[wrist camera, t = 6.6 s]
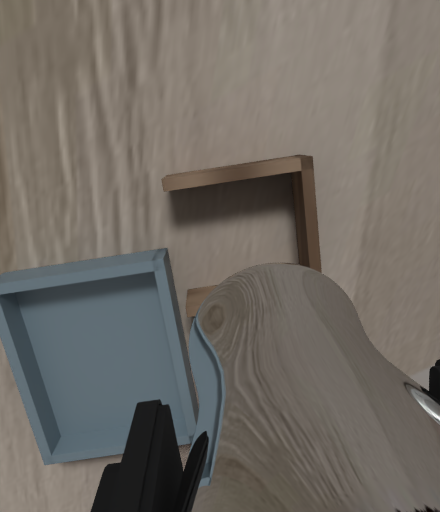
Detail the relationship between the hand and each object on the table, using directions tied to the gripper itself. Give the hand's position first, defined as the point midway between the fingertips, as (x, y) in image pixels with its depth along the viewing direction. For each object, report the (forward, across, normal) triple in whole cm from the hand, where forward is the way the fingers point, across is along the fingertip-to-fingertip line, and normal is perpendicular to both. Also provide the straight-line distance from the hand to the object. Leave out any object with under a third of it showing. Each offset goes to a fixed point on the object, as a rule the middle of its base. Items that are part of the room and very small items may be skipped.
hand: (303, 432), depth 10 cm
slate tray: (+22, +12, +8) cm, 26 cm away
